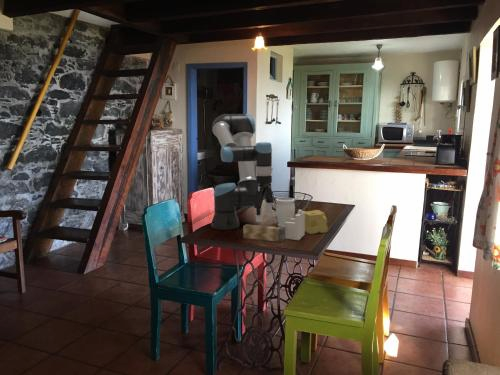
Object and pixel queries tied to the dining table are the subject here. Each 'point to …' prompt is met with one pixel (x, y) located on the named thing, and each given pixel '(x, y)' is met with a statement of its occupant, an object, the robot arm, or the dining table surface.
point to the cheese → (315, 222)
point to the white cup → (284, 210)
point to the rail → (264, 232)
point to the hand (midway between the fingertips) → (264, 218)
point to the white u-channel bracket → (295, 226)
